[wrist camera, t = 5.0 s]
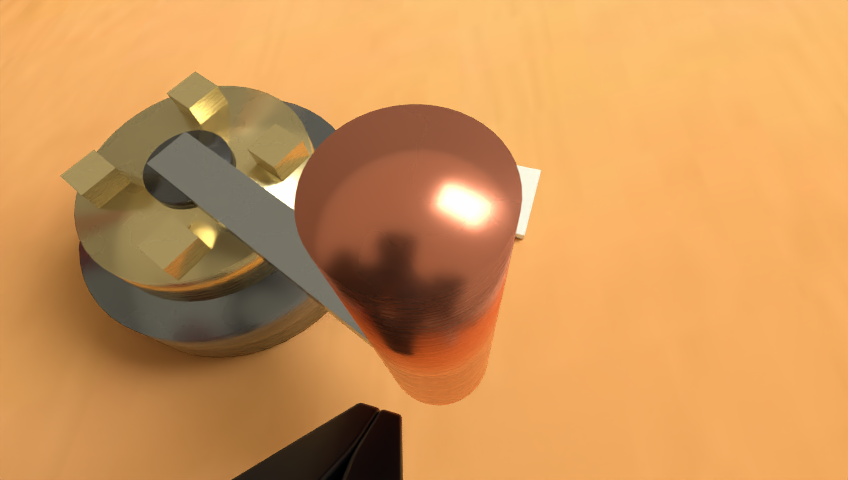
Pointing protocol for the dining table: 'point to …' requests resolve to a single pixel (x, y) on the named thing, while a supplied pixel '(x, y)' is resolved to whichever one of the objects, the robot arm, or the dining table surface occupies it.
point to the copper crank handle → (315, 219)
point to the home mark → (526, 196)
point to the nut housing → (214, 301)
